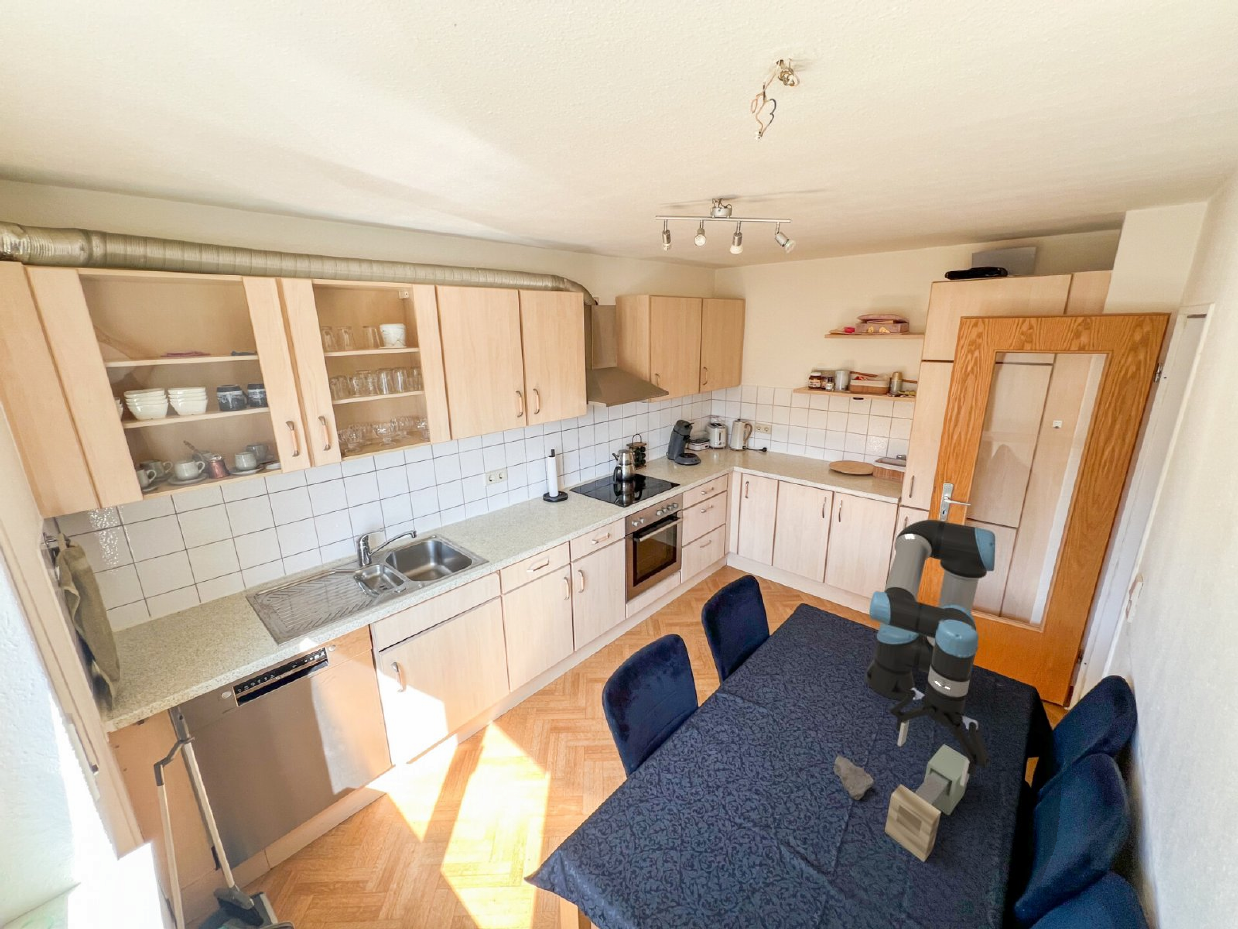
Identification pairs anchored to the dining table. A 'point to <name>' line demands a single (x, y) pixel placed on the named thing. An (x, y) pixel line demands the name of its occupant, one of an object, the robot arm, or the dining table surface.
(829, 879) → the dining table surface
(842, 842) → the dining table surface
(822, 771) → the dining table surface
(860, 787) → the stone
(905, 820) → the socket block
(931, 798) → the grey-banded white peg
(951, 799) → the sleeve
